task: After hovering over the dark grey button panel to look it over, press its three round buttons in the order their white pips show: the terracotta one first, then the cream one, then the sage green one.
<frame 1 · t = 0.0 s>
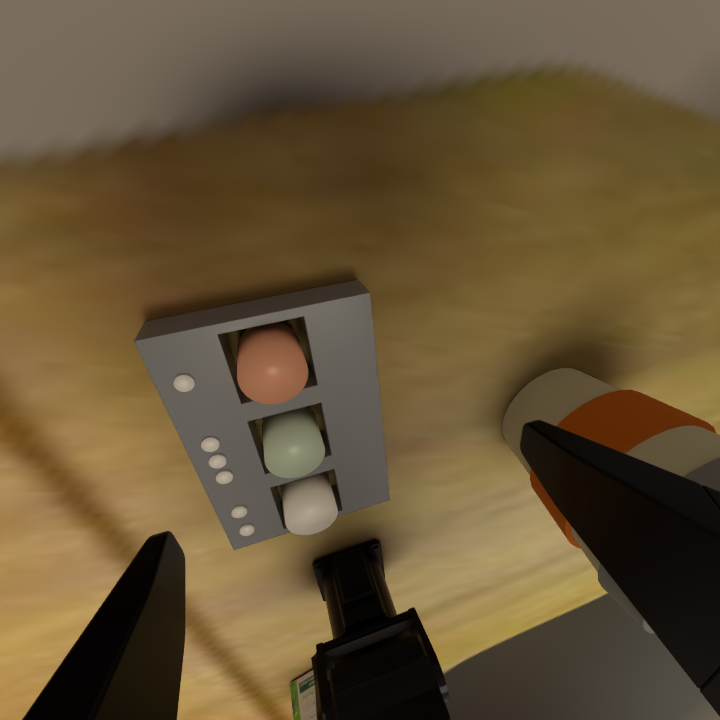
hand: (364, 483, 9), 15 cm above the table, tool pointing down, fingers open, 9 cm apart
button terracotta: (271, 361, 20), point 3 cm above the table, slide at 0.0 cm
button cream: (308, 499, 26), point 3 cm above the table, slide at 0.0 cm
syrup box: (321, 673, 45), on the table
button sage: (292, 439, 23), point 3 cm above the table, slide at 0.0 cm
reusable coffee cup: (544, 409, 33), on the table
button panel: (287, 416, 25), on the table
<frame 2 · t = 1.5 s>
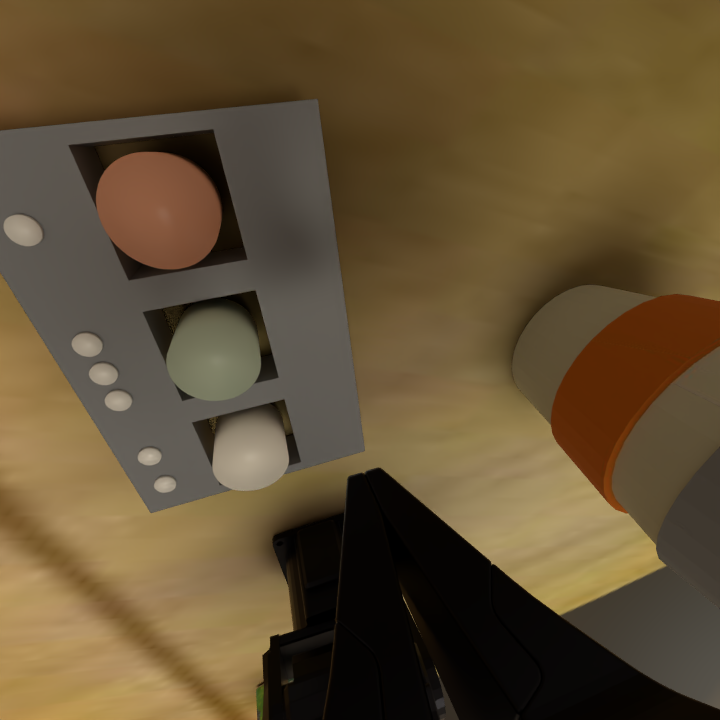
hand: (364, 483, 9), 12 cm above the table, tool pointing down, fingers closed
button terracotta: (168, 209, 13), point 3 cm above the table, slide at 0.0 cm
button cream: (250, 443, 19), point 3 cm above the table, slide at 0.0 cm
button sage: (217, 348, 16), point 3 cm above the table, slide at 0.0 cm
reusable coffee cup: (565, 344, 26), on the table
button panel: (219, 325, 18), on the table
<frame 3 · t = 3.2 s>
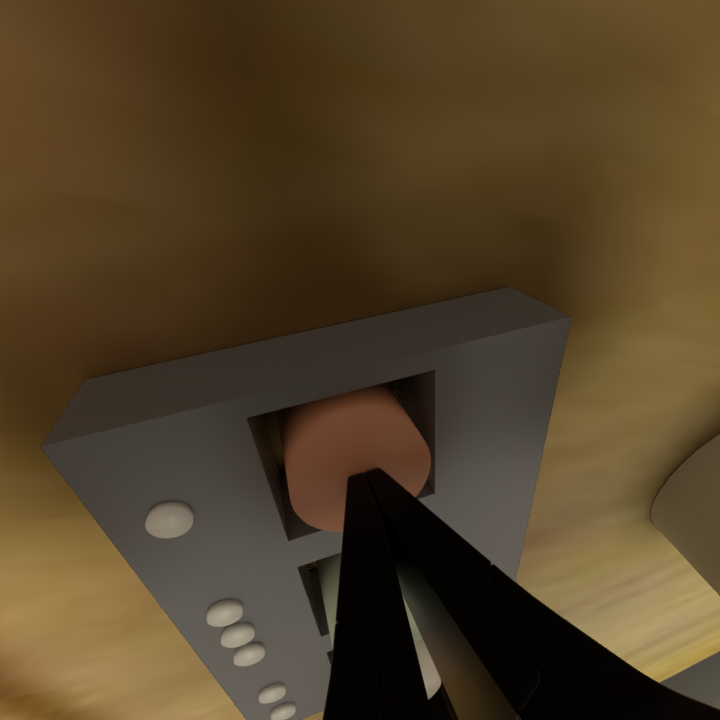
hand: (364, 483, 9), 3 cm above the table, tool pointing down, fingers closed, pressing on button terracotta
button terracotta: (348, 441, 10), point 2 cm above the table, slide at 0.8 cm, touching gripper
button cream: (385, 655, 16), point 2 cm above the table, slide at 0.0 cm
button sage: (374, 582, 13), point 3 cm above the table, slide at 0.0 cm
reusable coffee cup: (710, 475, 22), on the table
button panel: (355, 520, 15), on the table
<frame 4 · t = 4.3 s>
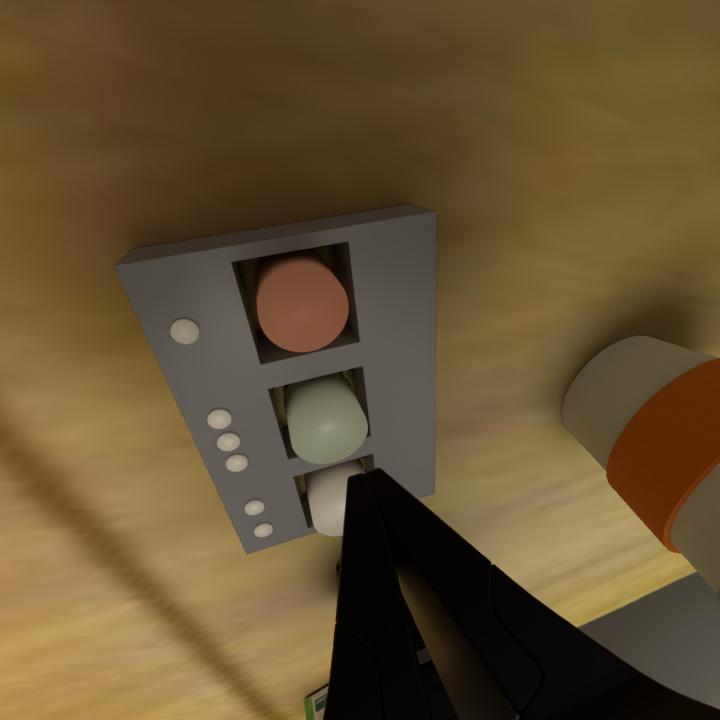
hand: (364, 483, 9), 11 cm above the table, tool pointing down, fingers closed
button terracotta: (299, 299, 16), point 2 cm above the table, slide at 0.9 cm
button cream: (339, 492, 21), point 3 cm above the table, slide at 0.0 cm
syrup box: (339, 687, 40), on the table
button sage: (323, 414, 18), point 3 cm above the table, slide at 0.0 cm
reusable coffee cup: (610, 387, 28), on the table
button panel: (314, 387, 20), on the table
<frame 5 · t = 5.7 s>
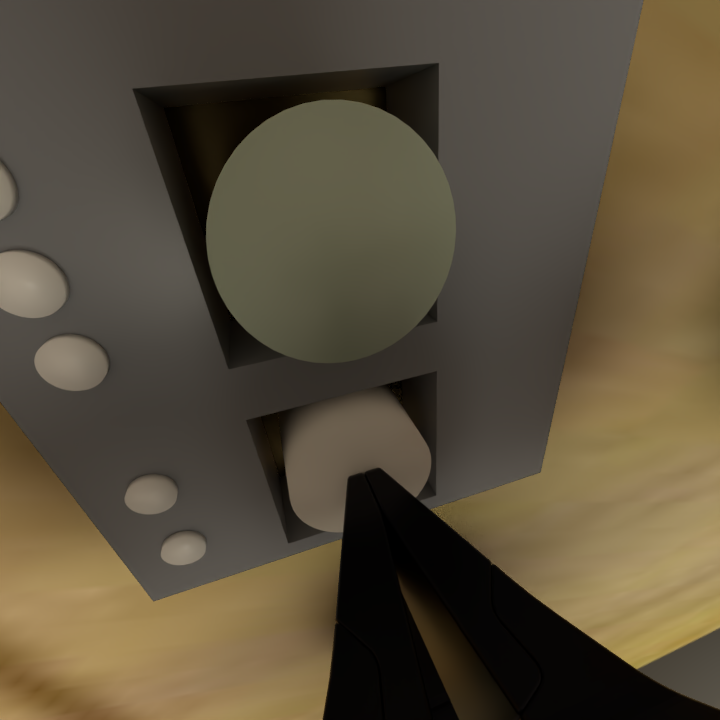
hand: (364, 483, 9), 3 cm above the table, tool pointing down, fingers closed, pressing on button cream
button cream: (348, 441, 10), point 2 cm above the table, slide at 0.9 cm, touching gripper
button sage: (321, 233, 7), point 3 cm above the table, slide at 0.0 cm
button panel: (301, 213, 9), on the table
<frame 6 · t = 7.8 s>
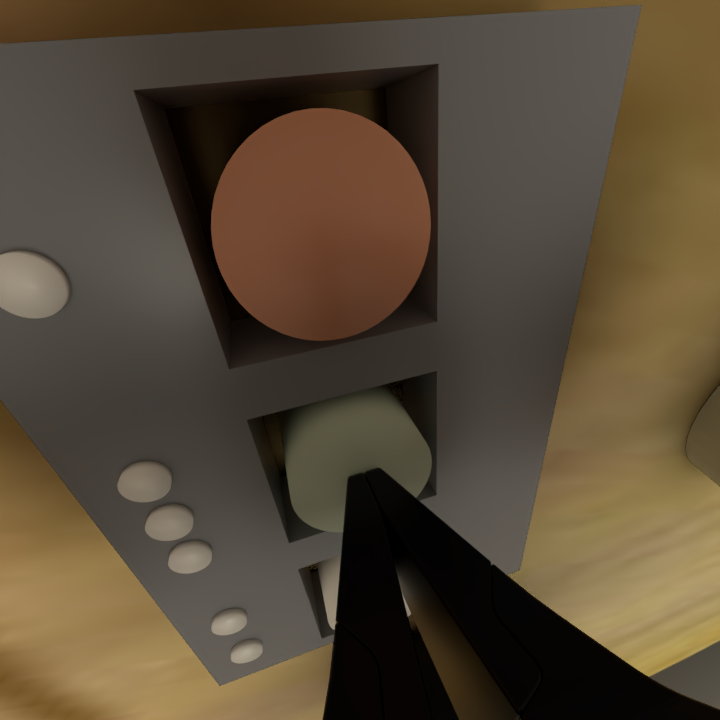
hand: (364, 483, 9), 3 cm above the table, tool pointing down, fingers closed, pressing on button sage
button terracotta: (313, 225, 7), point 2 cm above the table, slide at 0.9 cm
button cream: (368, 559, 13), point 2 cm above the table, slide at 0.9 cm
button sage: (348, 441, 10), point 2 cm above the table, slide at 0.9 cm, touching gripper
button panel: (335, 407, 12), on the table
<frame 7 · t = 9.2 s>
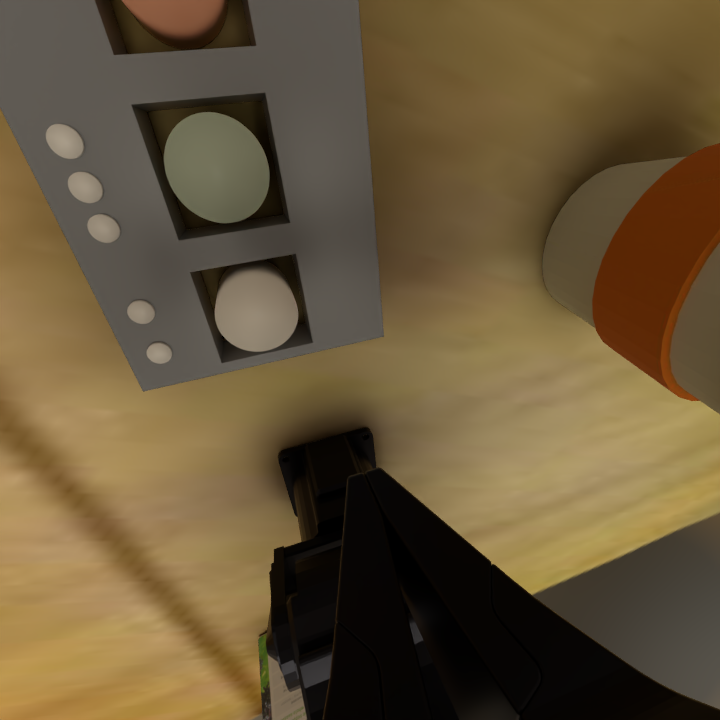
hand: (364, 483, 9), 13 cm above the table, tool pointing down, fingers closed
button cream: (256, 304, 18), point 2 cm above the table, slide at 0.9 cm
syrup box: (299, 627, 36), on the table
button sage: (220, 169, 15), point 2 cm above the table, slide at 0.9 cm
reusable coffee cup: (599, 241, 24), on the table
button panel: (222, 168, 16), on the table
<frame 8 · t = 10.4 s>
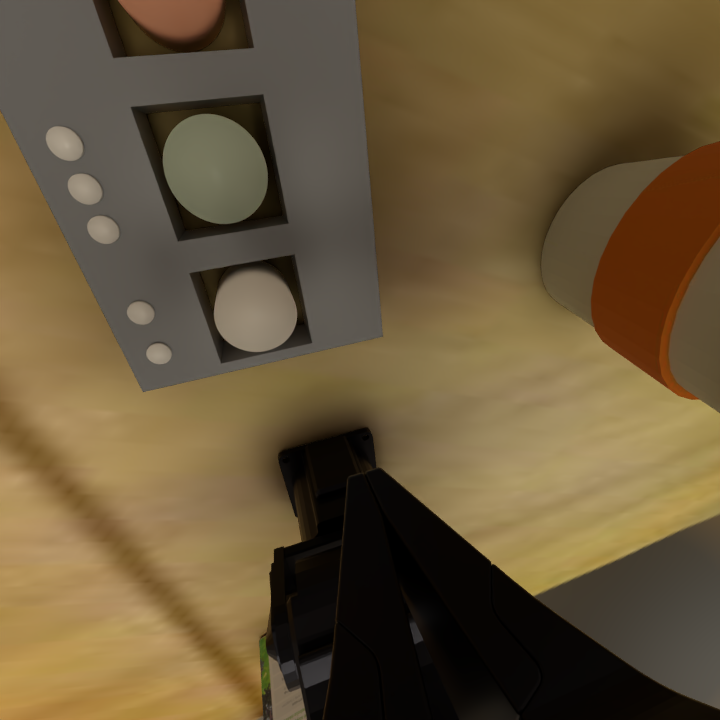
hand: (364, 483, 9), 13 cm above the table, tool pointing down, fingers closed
button cream: (255, 304, 18), point 2 cm above the table, slide at 0.9 cm
syrup box: (300, 628, 36), on the table
button sage: (219, 170, 15), point 2 cm above the table, slide at 0.9 cm
reusable coffee cup: (598, 241, 24), on the table
button panel: (221, 169, 16), on the table
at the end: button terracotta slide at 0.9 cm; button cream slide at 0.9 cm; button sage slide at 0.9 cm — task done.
